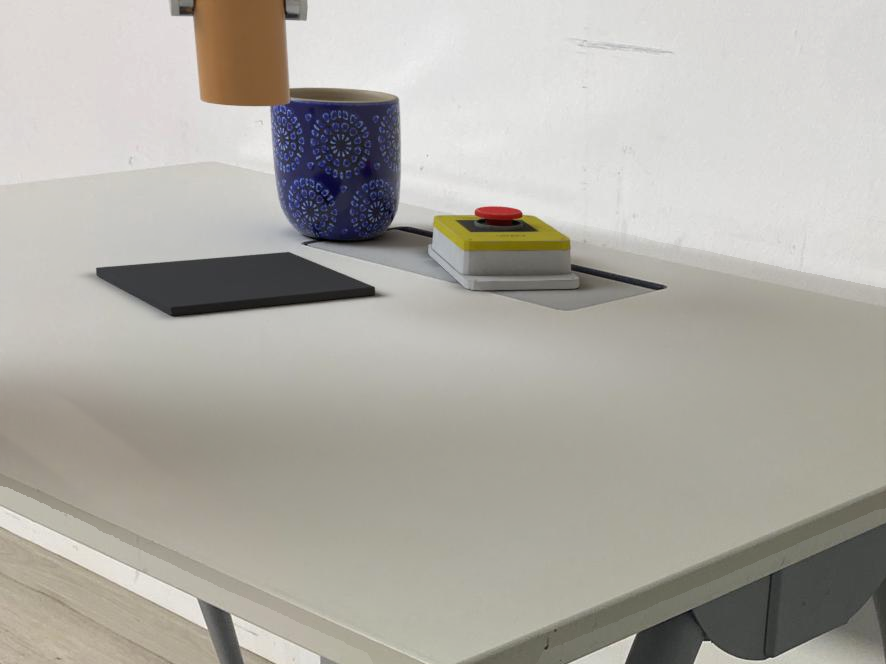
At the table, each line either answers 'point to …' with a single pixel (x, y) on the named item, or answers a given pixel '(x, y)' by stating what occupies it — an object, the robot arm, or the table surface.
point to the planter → (338, 161)
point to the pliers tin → (242, 52)
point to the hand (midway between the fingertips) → (240, 11)
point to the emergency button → (502, 251)
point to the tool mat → (232, 282)
